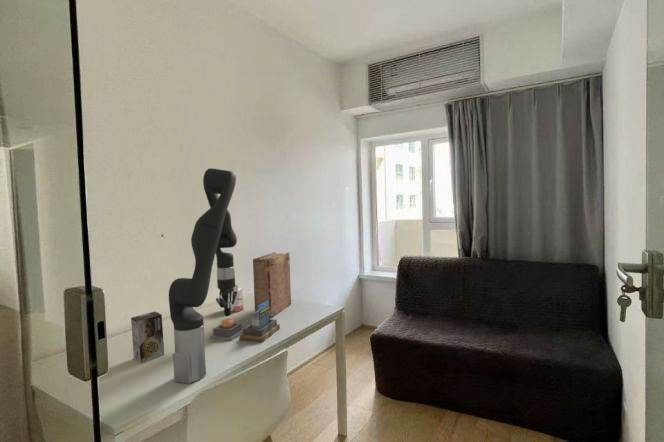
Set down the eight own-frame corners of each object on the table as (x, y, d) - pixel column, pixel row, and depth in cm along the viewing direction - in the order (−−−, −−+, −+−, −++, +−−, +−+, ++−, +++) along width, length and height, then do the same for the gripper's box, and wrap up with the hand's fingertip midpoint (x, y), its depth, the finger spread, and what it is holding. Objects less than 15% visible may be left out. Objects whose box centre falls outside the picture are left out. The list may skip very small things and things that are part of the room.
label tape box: (261, 326, 158) (260, 299, 158) (269, 326, 157) (268, 299, 157) (251, 333, 150) (250, 304, 149) (260, 333, 149) (259, 305, 148)
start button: (229, 330, 151) (229, 322, 151) (219, 329, 152) (218, 321, 152) (236, 326, 156) (235, 318, 156) (226, 325, 157) (225, 318, 157)
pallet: (262, 342, 145) (262, 331, 144) (239, 339, 148) (239, 329, 148) (279, 328, 160) (279, 319, 160) (258, 326, 163) (258, 317, 163)
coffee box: (157, 350, 139) (155, 311, 138) (164, 354, 135) (162, 313, 134) (132, 358, 132) (130, 317, 131) (140, 363, 128) (137, 320, 127)
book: (276, 303, 202) (274, 252, 200) (291, 304, 199) (289, 252, 198) (254, 317, 178) (252, 259, 176) (271, 318, 175) (269, 259, 174)
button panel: (231, 340, 147) (231, 331, 147) (209, 338, 151) (209, 329, 151) (245, 331, 158) (245, 322, 158) (224, 329, 161) (224, 320, 161)
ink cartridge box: (244, 309, 192) (242, 282, 192) (239, 311, 188) (237, 284, 187) (230, 308, 195) (229, 282, 194) (225, 310, 190) (224, 284, 189)
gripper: (224, 280, 146) (226, 321, 147) (241, 274, 158) (243, 311, 159) (209, 280, 148) (211, 320, 149) (227, 273, 160) (229, 310, 161)
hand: (227, 315), depth 154 cm, fingers closed
